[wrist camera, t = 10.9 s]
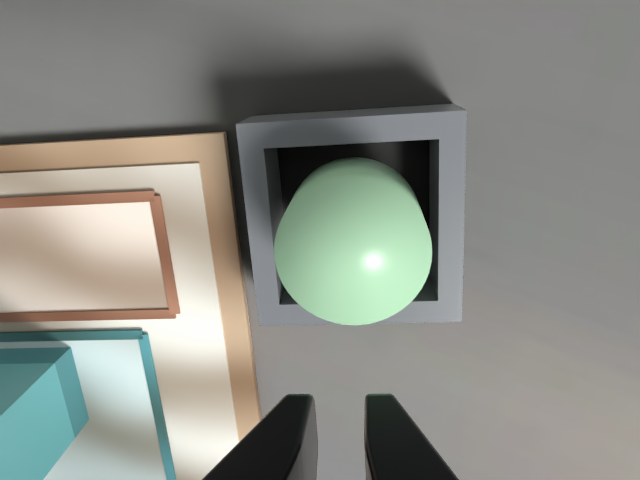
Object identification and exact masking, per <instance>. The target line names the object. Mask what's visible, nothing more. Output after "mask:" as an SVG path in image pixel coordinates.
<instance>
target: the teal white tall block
mask: <svg viewBox="0 0 640 480" xmlns="http://www.w3.org/2000/svg"><path fill="white" fill-rule="evenodd" d="M88 421H89V416H88V412H87V408H86V404H85V400H84V397H83V393H82V389H81V385H80V381H79V377H78V373H77V369H76V365H75V361H74V357H73V353H72V349H71V347H56V348H6V349H0V480H43V479H44V478H45V477H46V475H47V474H48V473H49V472H50V470H51V469H52V468H53V466H54V465H55V464H56V462H57V461H58V460H59V458H60V457H61V456H62V455H63V453H64V452H65V451H66V449H67V448H68V447H69V445H70V444H71V443H72V441H73V440H74V439H75V438H76V436H77V435H78V434H79V432H80V431H81V430H82V428H83V427H84V426H85V424H86V423H87V422H88Z"/></svg>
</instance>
